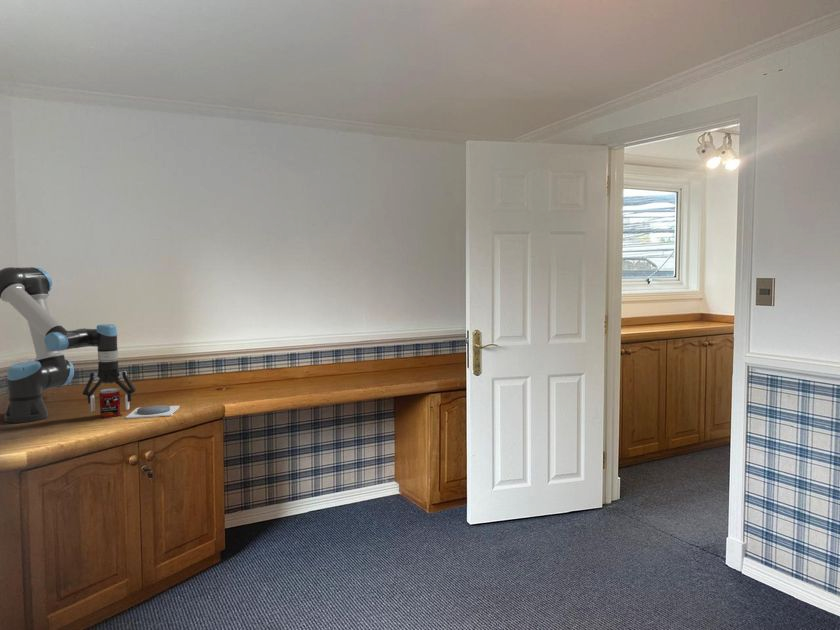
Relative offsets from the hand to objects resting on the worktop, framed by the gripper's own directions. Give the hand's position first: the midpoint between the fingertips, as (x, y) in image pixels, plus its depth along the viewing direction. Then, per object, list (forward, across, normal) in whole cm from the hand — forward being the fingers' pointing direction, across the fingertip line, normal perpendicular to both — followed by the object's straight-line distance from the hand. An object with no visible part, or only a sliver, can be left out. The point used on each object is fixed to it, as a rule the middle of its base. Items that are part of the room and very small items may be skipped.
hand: (110, 410), depth 252 cm
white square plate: (+2, +17, +1) cm, 17 cm away
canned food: (+2, 0, 0) cm, 2 cm away
